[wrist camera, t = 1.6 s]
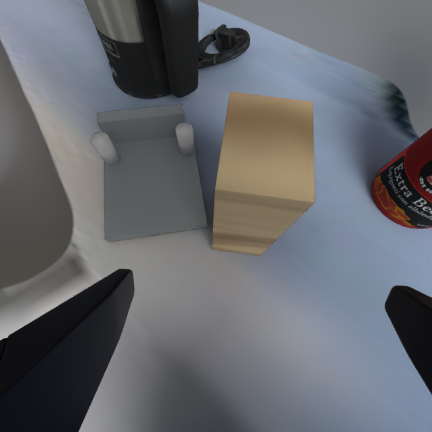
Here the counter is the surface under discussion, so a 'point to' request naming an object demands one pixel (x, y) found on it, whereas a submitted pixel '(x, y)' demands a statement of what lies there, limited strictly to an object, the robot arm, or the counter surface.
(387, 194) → the canned food
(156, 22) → the milk frother
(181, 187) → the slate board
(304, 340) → the counter surface
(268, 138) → the oak block
